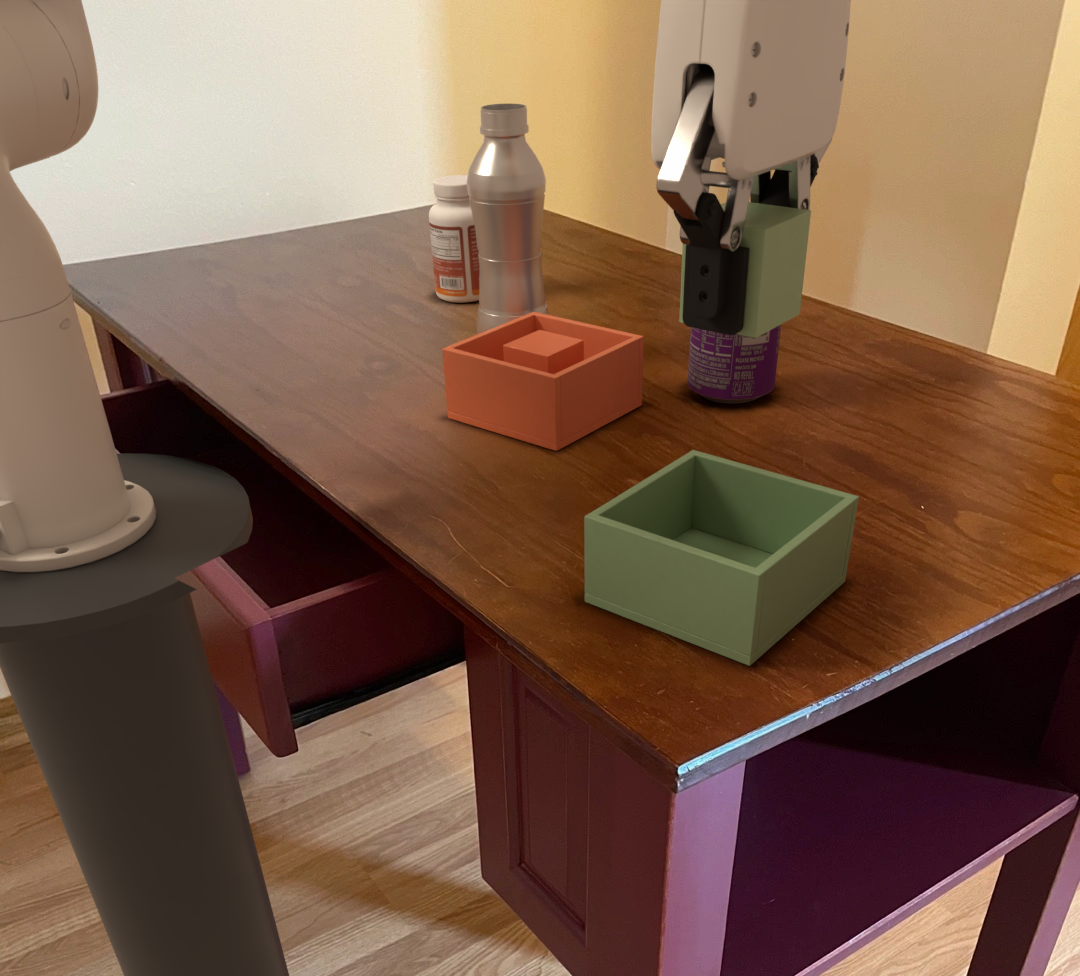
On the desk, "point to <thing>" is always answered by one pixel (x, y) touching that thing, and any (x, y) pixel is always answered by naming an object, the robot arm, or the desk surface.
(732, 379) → the beverage can
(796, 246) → the sage block
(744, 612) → the sage bin
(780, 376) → the desk surface
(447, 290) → the pill bottle
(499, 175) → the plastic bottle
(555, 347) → the coral block
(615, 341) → the coral bin
